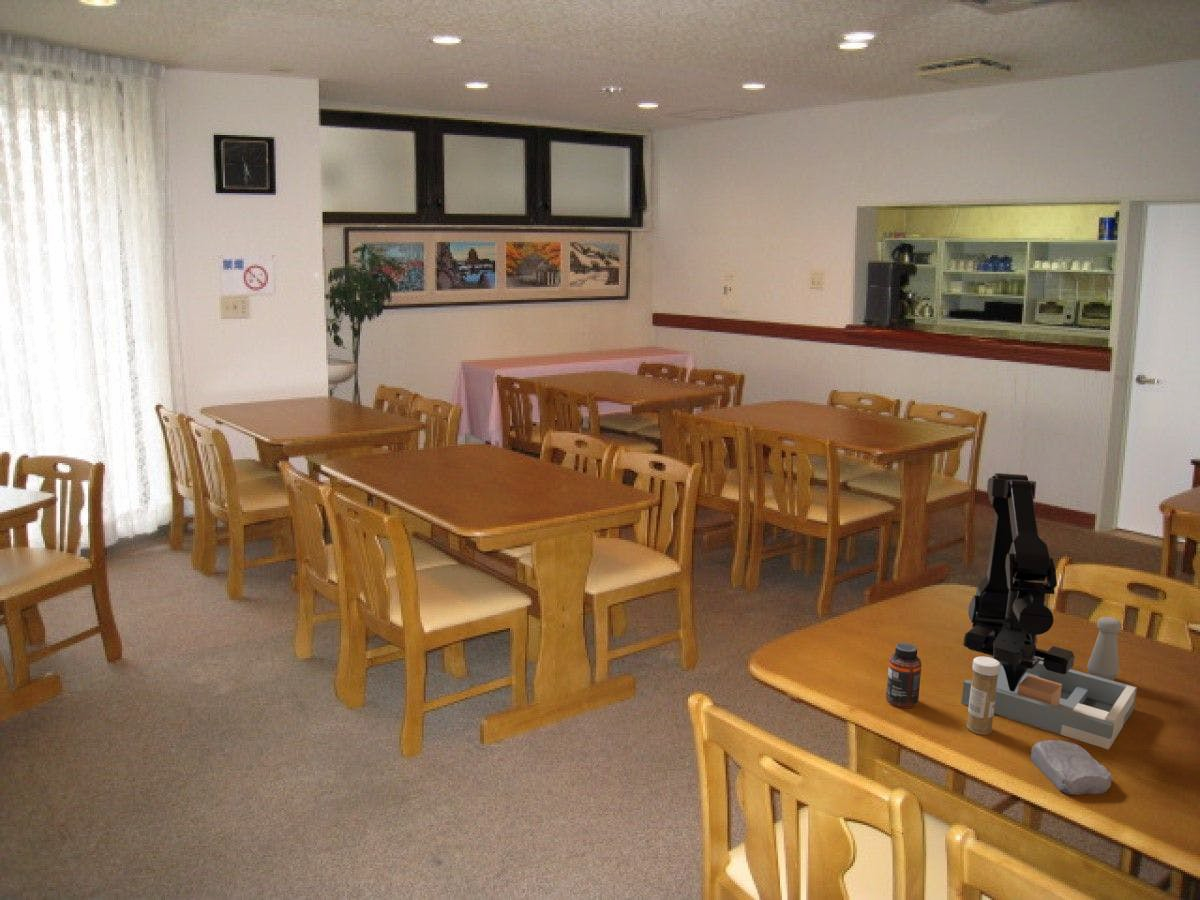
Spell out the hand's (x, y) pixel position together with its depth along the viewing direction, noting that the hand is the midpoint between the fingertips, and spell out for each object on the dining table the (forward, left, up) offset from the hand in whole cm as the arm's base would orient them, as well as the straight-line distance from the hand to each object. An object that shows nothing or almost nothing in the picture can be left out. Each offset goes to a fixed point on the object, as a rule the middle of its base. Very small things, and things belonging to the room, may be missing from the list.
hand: (1012, 690), depth 193 cm
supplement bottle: (-16, -12, -3) cm, 21 cm away
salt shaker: (+11, +25, -3) cm, 27 cm away
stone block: (+16, -19, -4) cm, 25 cm away
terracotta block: (+5, 0, -1) cm, 5 cm away
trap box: (+6, +5, -3) cm, 8 cm away
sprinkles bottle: (-1, -13, -3) cm, 14 cm away
